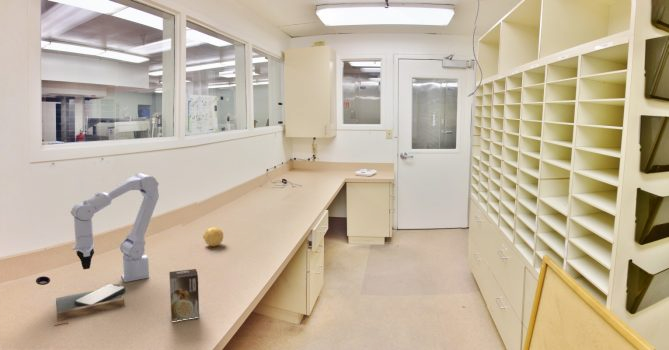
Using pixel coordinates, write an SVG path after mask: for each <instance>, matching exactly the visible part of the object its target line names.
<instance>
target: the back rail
mask: <svg viewBox="0 0 669 350" xmlns="http://www.w3.org/2000/svg"><path fill="white" fill-rule="evenodd" d="M125 300H126V299H125V297H122V298H120V299H115V300H110V301H106V302H101V303H96V304H91V305H87V306H82V307H77V308H73V309H68V310H63V311H59V312H57V321H58V322H59V321H62V320H67V319H72V318H77V317H81V316H85V315H90V314H94V313H98V312H103V311H107V310H111V309H116V308H121V307H124V306H126V304H125V303H126V302H125Z"/></svg>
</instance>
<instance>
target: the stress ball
mask: <svg viewBox="0 0 669 350" xmlns="http://www.w3.org/2000/svg"><path fill="white" fill-rule="evenodd" d="M203 240H204V242H205V244H206V245H208V246H210V247H212V248H213V247H217V246H219V245H220V244H221V243H222V242H223V240H224V233H223V231H222V229H220V228H218V227H215V226H213V227H210V228H208V229H207V230H205V232H204V233H203Z"/></svg>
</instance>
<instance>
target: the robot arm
mask: <svg viewBox="0 0 669 350" xmlns="http://www.w3.org/2000/svg"><path fill="white" fill-rule="evenodd" d="M158 187H159V182H158V181H157V178H155V177H154V176H151V175H147V174H145V173H140V172H139V173H136V174H134V175H133V176H130V177H129V178H127V179H126V180H124V181H123V182H121V183H120V184H118V185H117V186H115V187H113V188H112V189H110V190H108V191H107V192H104V191H103V192H102V191H101V192H96V193H95V194H94V195H93V196H92V197H90V198H88V199H87V200H86V199H84V200H83V201H82V202H79V203H76V204H74V206H73V207H72V209H71V211H70V213H71V215H72V217H73V222H74V236H75V246H72V247H71V248H72V250H73V251H75V250H76V252H75V253H76V255H77V257H78V258H79V260H80V262H81V267H82V269H83V270H89V269H90V268H91V263H92V258H93V256H94V254H95V250H94V248H95V243H94V233H93V232H94V231H93V221H92V220H93V217H94V216H95V214H97V213H98V212H100V211H101V210H103V209H105V208H107V207H108V206H110V205H111V204H112V201H113V200H114V199H116V198H119V196H122V195H124V194H126V193H128V192H130V191H140V194H141V195H142V196H143V199H142V202H141V204H140V207H139V210H138V213H137V215H136V217H135V220H134V223H133V226H132V228H131V231H130V233H129V234H126V237H125V239H124V240H123V241H122V242H121V243H120V246H119V250H120V252H121V253H122V255H123V256H122V266H123V267H122V268H123V274H122V273H121V278H122V280H123V282H124V283H128V282H132V281H133V282H134V281H137V280H144V279H149V278H150V275H149V274H150V270H149V267H150V266H149V265H150V264H149V257H148V255H147V254H145V250H146V249H145V246H146V239H145V235H146V233H147V229H148V227H149V225H150V222H151V219H152V216H153V213H154V211H155V209H156V206H157V202H158V200H159V196H160V195H159V188H158Z"/></svg>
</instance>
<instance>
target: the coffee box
mask: <svg viewBox="0 0 669 350" xmlns="http://www.w3.org/2000/svg"><path fill="white" fill-rule="evenodd" d="M168 276H169V297H170V300H169V301H170V316H171V319H170V320H172V321H177V320H183V319H189V318H195V317H199V318H200V301H199V300H200V297H199V295H200V294H199V275H198V271H197V269H196V268H191V269H183V270H175V271H169V274H168ZM172 321H171V322H172Z"/></svg>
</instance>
